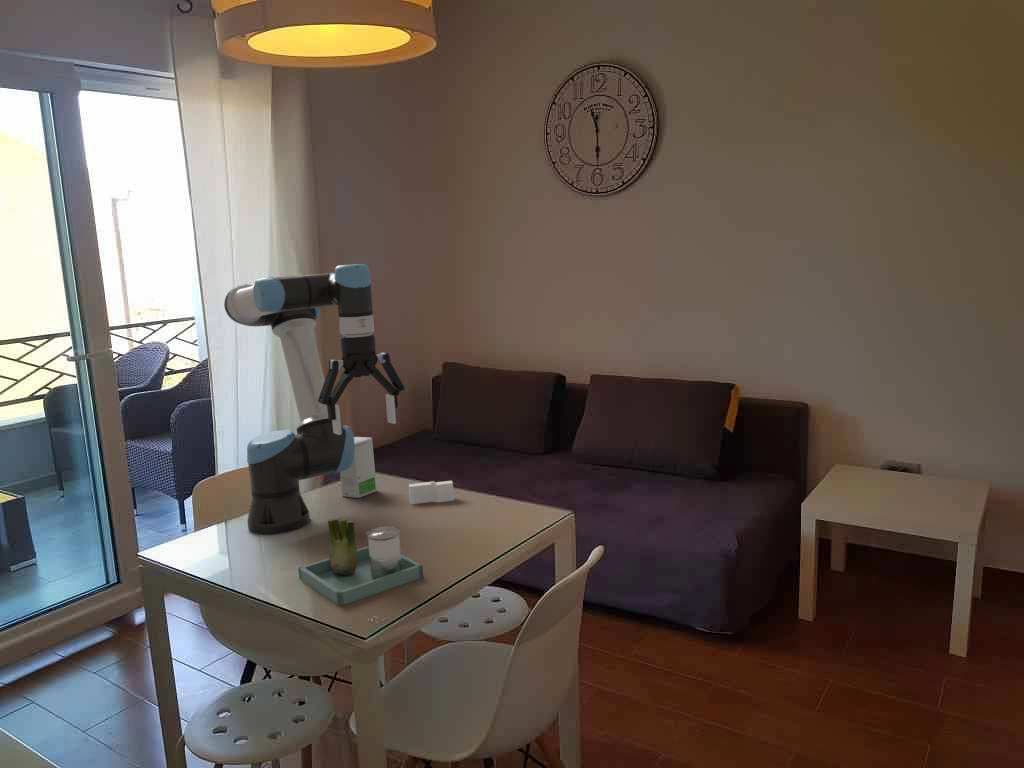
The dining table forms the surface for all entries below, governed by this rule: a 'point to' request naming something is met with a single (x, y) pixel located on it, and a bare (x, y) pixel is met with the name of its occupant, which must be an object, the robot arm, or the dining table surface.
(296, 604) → the dining table surface
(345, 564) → the fennel bulb
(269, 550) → the dining table surface
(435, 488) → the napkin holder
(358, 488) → the skincare box
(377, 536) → the can
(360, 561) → the tray
